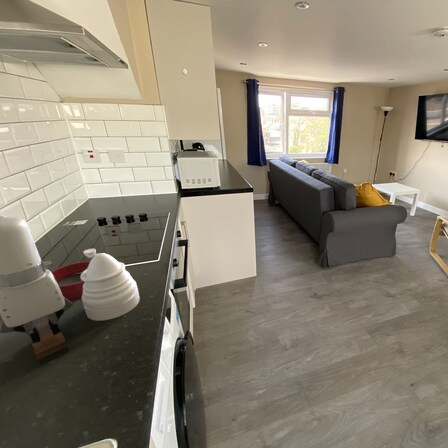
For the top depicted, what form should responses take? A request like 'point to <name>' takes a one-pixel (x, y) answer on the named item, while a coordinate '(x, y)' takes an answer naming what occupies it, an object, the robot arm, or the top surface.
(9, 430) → the top surface
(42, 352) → the t-shaped block
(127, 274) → the honey pot
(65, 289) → the bowl
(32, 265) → the robot arm
